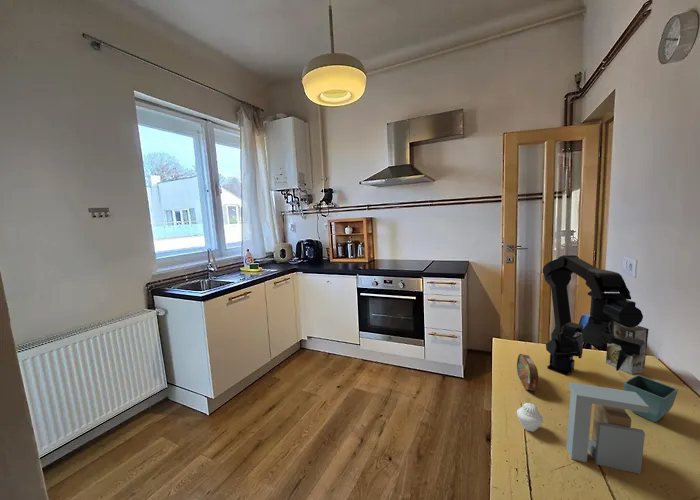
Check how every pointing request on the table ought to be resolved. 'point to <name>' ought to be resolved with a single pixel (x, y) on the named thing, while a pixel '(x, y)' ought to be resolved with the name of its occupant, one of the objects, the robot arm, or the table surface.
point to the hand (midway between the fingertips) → (598, 363)
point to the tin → (527, 372)
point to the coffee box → (632, 362)
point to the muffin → (529, 417)
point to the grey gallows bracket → (604, 428)
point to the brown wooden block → (609, 418)
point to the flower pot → (652, 396)
